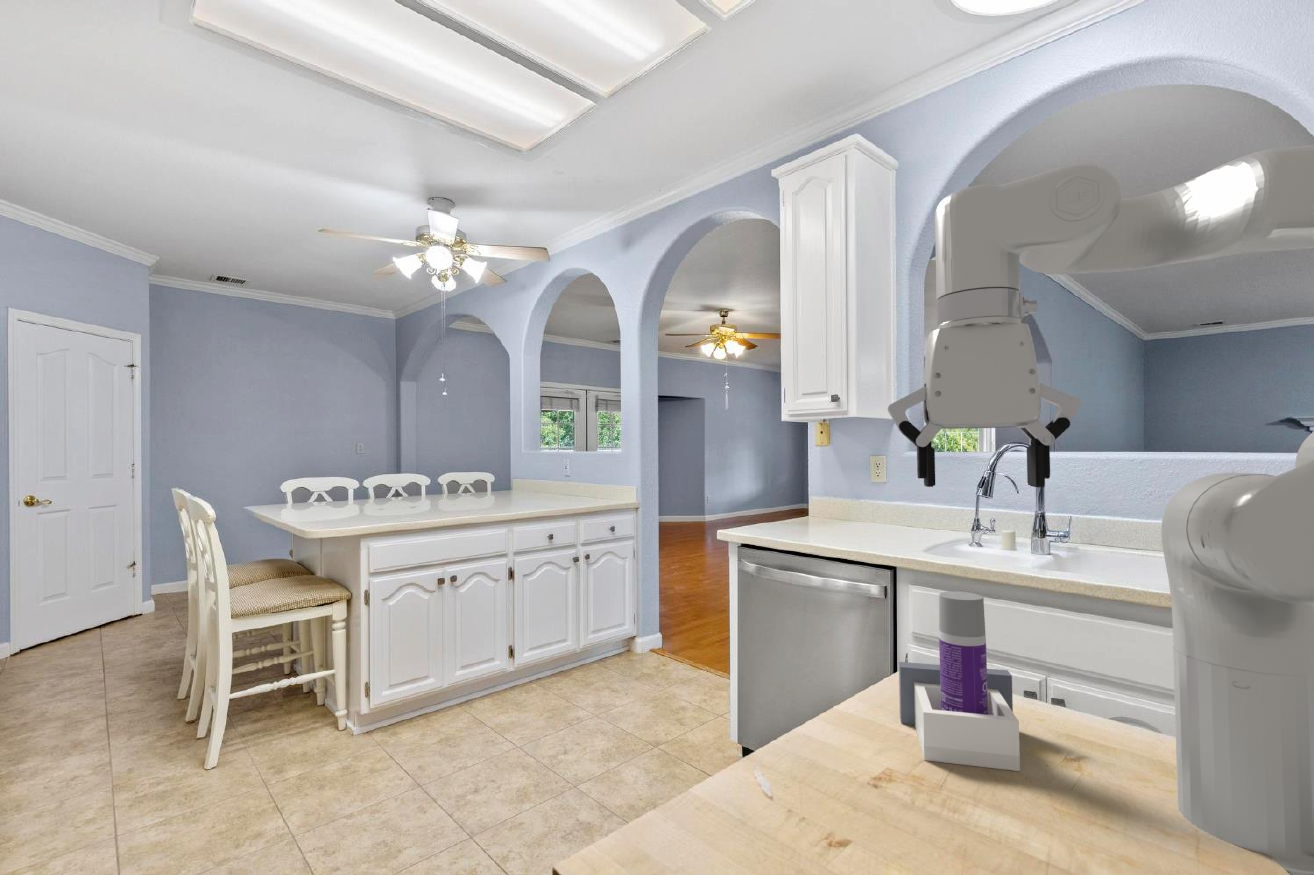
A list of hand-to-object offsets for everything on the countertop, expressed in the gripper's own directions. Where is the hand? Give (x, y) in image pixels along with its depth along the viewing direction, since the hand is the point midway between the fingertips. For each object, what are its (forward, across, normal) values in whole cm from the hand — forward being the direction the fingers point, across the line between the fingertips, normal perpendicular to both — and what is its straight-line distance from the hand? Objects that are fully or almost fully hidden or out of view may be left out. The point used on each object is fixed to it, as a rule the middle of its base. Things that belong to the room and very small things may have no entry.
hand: (981, 486), depth 63 cm
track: (+30, +1, -4) cm, 31 cm away
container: (+28, +1, -7) cm, 29 cm away
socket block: (+29, +1, -8) cm, 30 cm away
